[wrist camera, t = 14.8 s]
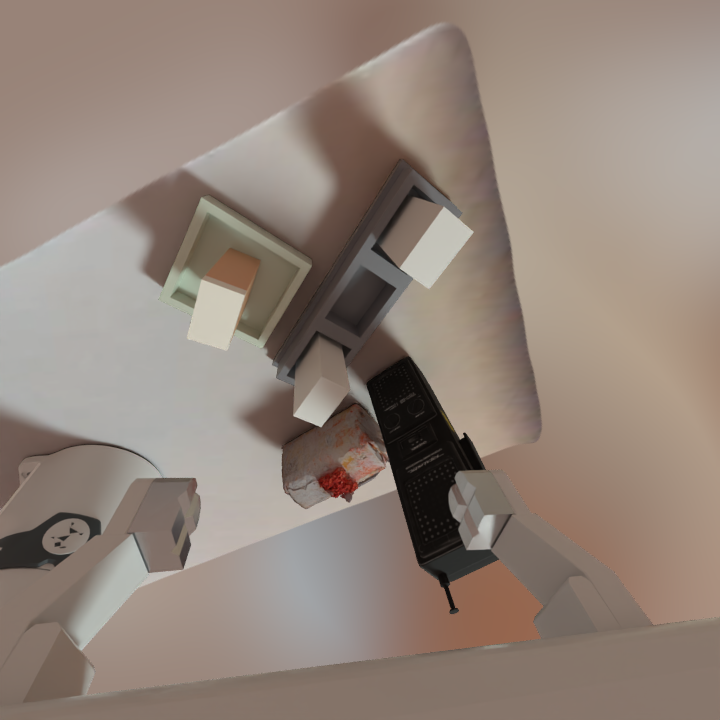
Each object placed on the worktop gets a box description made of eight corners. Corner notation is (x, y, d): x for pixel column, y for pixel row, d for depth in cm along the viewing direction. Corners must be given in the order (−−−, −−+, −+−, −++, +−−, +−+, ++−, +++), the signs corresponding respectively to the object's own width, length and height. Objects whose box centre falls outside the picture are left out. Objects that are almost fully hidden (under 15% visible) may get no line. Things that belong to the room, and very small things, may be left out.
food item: (359, 392, 43) (371, 447, 35) (387, 427, 47) (404, 484, 39) (277, 440, 46) (270, 502, 37) (310, 469, 50) (311, 531, 41)
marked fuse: (246, 304, 34) (226, 350, 26) (217, 293, 33) (186, 338, 25) (260, 260, 32) (244, 295, 24) (229, 247, 31) (201, 279, 23)
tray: (264, 338, 37) (261, 348, 35) (167, 291, 33) (158, 299, 31) (311, 259, 33) (311, 265, 31) (208, 194, 29) (201, 197, 27)
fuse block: (323, 383, 42) (327, 447, 32) (272, 360, 39) (262, 422, 30) (453, 206, 33) (511, 223, 23) (400, 159, 30) (442, 158, 21)
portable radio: (413, 347, 41) (529, 547, 20) (435, 378, 44) (555, 579, 23) (362, 380, 42) (419, 599, 21) (386, 408, 45) (457, 623, 24)
